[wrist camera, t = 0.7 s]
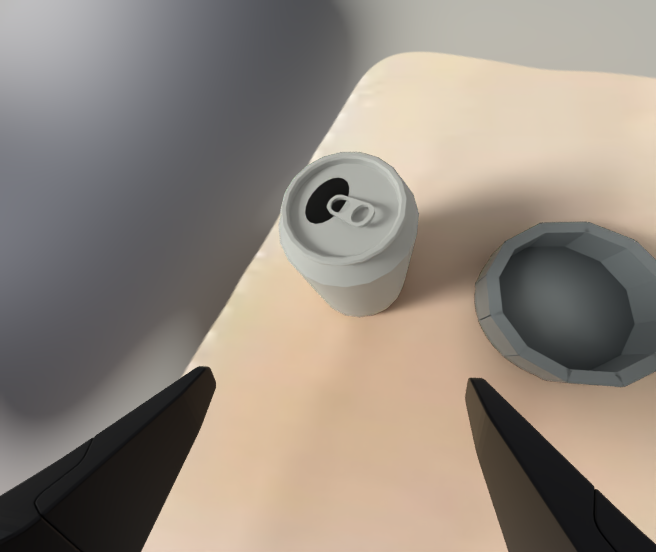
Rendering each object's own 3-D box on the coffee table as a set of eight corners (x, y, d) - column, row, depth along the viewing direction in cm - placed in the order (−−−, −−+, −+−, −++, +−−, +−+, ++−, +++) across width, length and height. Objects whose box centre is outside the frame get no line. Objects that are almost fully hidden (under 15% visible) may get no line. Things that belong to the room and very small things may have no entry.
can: (349, 223, 26) (325, 117, 15) (421, 264, 24) (456, 175, 13) (301, 287, 25) (237, 225, 14) (371, 337, 23) (361, 310, 12)
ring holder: (679, 337, 19) (730, 333, 16) (536, 410, 19) (562, 417, 17) (565, 217, 23) (590, 196, 20) (446, 279, 23) (455, 267, 20)
